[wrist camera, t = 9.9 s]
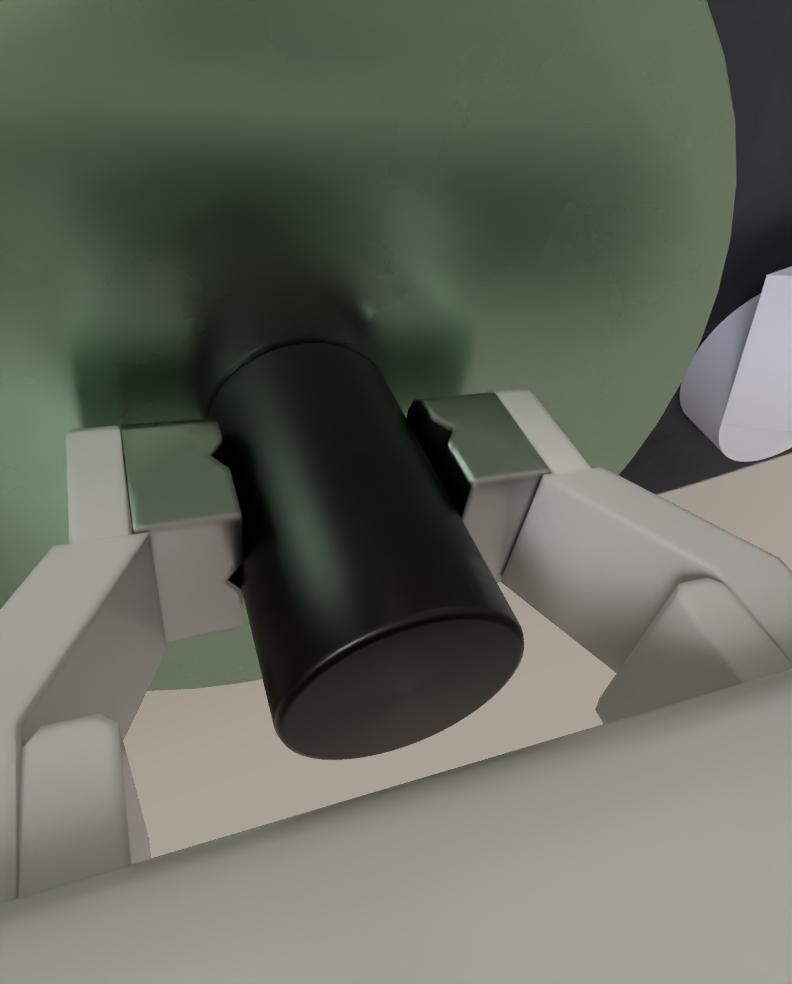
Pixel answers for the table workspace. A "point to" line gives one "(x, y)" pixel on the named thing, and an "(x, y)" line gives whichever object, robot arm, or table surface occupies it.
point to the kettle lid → (349, 294)
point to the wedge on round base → (746, 376)
